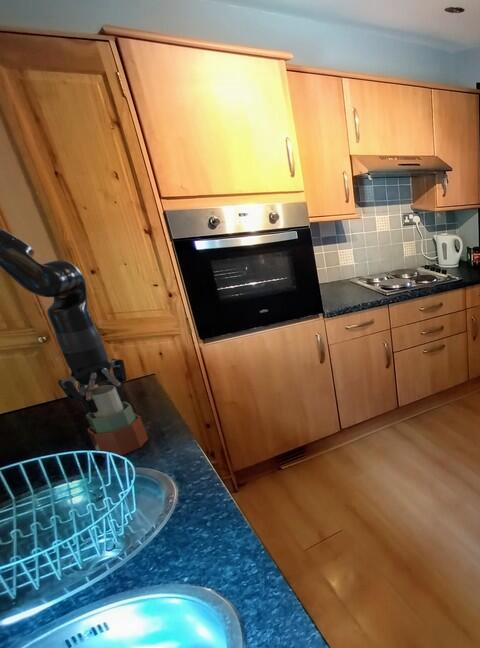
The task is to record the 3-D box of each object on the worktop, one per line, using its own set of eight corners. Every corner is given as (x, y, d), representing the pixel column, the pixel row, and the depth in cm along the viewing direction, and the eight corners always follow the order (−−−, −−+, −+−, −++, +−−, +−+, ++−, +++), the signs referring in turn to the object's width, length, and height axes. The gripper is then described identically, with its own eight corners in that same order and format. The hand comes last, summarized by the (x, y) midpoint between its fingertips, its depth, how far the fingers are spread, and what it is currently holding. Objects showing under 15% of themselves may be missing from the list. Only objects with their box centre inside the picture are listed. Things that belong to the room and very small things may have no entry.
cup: (103, 429, 114) (90, 398, 110) (94, 422, 116) (81, 392, 113) (131, 418, 118) (119, 388, 114) (121, 412, 121) (109, 383, 117)
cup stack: (108, 461, 114) (92, 424, 110) (92, 448, 119) (76, 413, 115) (153, 441, 122) (140, 406, 118) (137, 430, 127) (123, 396, 122)
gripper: (99, 333, 116) (122, 391, 123) (35, 355, 103) (64, 418, 110) (123, 335, 114) (144, 394, 121) (61, 358, 102) (88, 422, 108)
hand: (106, 405), depth 115 cm, fingers closed on cup, 5 cm apart
